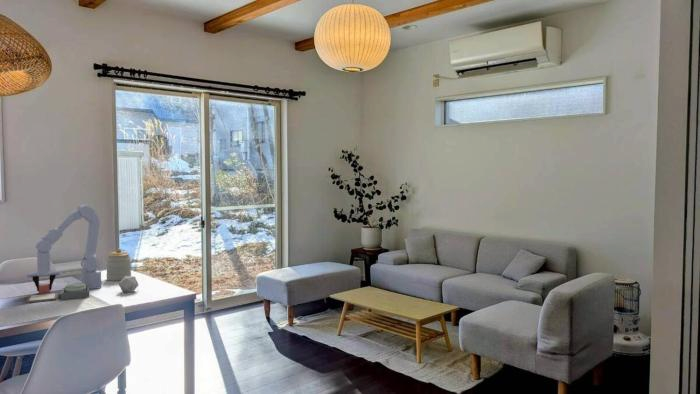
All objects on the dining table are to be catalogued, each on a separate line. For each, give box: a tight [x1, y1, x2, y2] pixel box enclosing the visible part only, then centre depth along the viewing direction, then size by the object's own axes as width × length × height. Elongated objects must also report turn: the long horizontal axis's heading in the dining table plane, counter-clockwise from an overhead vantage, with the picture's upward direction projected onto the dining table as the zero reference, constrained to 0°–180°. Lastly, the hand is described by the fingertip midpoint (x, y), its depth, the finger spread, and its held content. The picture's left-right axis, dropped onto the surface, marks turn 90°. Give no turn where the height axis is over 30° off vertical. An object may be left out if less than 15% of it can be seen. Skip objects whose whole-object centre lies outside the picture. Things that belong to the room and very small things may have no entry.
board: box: [26, 292, 59, 304], centre depth 234 cm, size 12×12×1 cm
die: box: [118, 275, 139, 293], centre depth 249 cm, size 8×9×10 cm
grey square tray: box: [60, 286, 90, 300], centre depth 241 cm, size 12×12×3 cm
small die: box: [38, 282, 51, 294], centre depth 244 cm, size 4×4×5 cm
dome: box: [64, 282, 86, 293], centre depth 240 cm, size 9×9×3 cm
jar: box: [106, 248, 132, 282], centre depth 278 cm, size 13×13×18 cm
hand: (44, 290), depth 244 cm, fingers closed on small die, 4 cm apart
